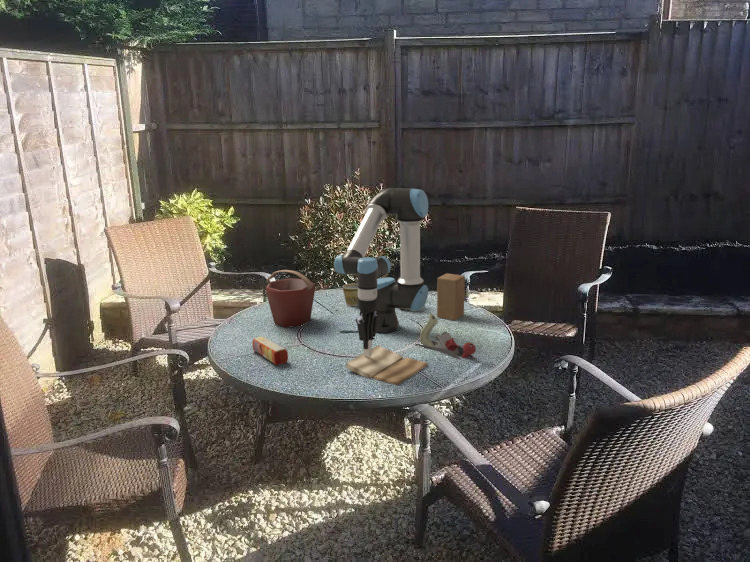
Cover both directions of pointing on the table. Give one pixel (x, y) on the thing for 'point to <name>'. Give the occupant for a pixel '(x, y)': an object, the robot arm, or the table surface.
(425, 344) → the hand plane
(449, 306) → the wooden block
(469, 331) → the table surface
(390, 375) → the oak plank
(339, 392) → the table surface
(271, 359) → the snack package
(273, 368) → the table surface
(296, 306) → the bucket
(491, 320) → the table surface
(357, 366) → the ash plank
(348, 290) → the ceramic cup
